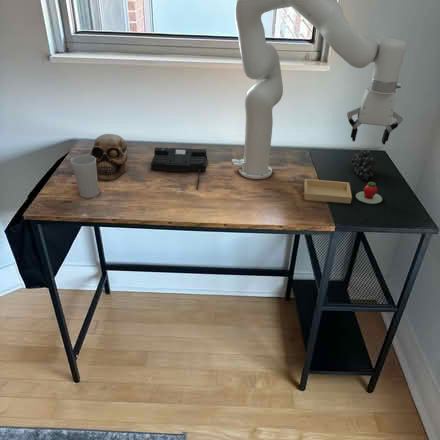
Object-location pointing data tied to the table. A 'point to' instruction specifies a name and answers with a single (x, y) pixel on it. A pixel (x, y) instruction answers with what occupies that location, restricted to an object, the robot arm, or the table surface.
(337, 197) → the tray
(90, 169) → the cup
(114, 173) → the brown skull
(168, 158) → the electronic device
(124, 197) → the table surface
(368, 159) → the fruit
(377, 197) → the coaster
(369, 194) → the strawberry
